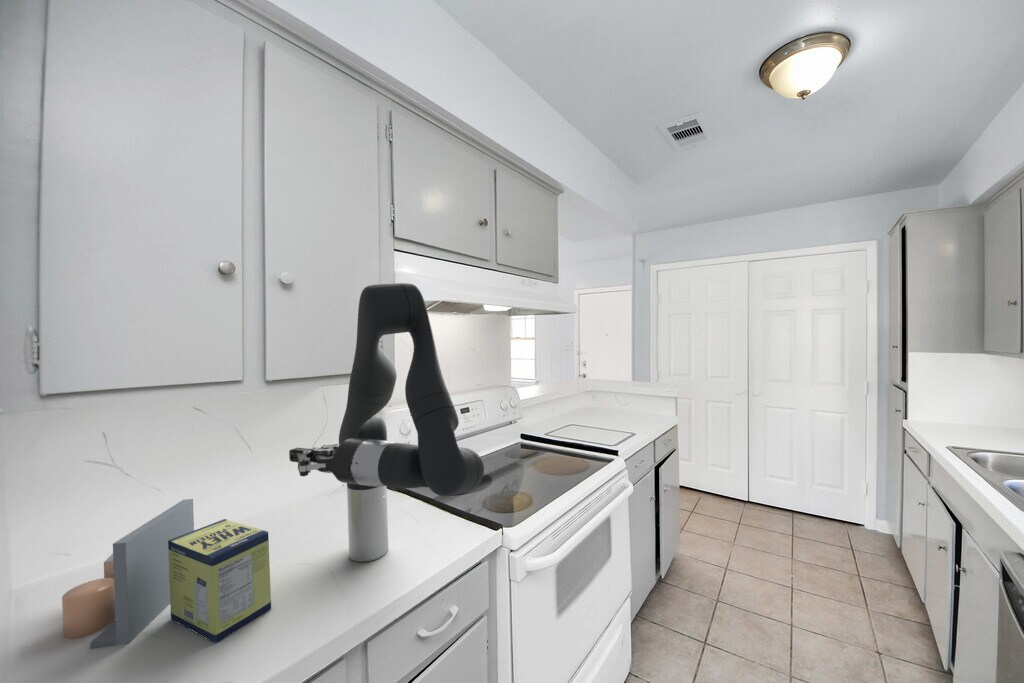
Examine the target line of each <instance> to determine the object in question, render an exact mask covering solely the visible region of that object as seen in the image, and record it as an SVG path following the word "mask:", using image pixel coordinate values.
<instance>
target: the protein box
mask: <svg viewBox="0 0 1024 683" xmlns="http://www.w3.org/2000/svg"><path fill="white" fill-rule="evenodd" d="M269 541H270V540H269V531H268V530H262V529H260V528H256V527H252V526H248V525H246V524H244V523H243V524H242V523H239V522H236V521H232V520H230V519H225V518H224V519H221V520H218V521H216V522H213V523H211V524H208V525H206V526H203V527H200V528H198V529H197V528H196V529H194V531H192V532H189V533H186V534H184V535H181V536H179V537H176V538H173V539H170V540H168V552H169V580H170V604H169V605H170V620H171V621H172V622H175V621H176V622H175V623H177V622H178V623H180V624H182V625H184V626H185V627H184V626H183V627H184V628H186V627H187V628H186V629H188V628H189V629H191V630H193V631H195V632H197V633H198V634H197V633H196V634H197V635H199V634H200V635H199V636H201V635H202V636H204V637H206V638H207V639H206V638H205V639H206V640H208V639H209V640H208V641H210V640H211V641H210V642H212V643H213V642H214V644H217V643H219V642H221V641H222V640H224V639H225V638H227V637H229V636H230V635H231V634H233V633H235V632H236V631H237V630H240V629H241V628H242V626H243V627H244V626H246V625H247V624H249V623H251V622H252V621H253V619H254V620H255V619H257V618H258V616H259V617H260V616H262V615H263V614H265V613H267V612H268V611H269V609H270V610H271V609H272V597H271V596H272V595H271V592H272V590H271V571H270V570H271V568H270V544H269ZM266 611H267V612H266ZM261 614H262V615H261ZM178 623H177V624H178ZM180 624H179V625H180ZM245 624H246V625H245ZM182 625H181V626H182ZM240 627H241V628H240ZM189 629H188V630H189ZM191 630H190V631H191ZM193 631H192V632H193ZM234 631H235V632H234ZM195 632H194V633H195ZM232 632H233V633H232ZM229 634H230V635H229ZM202 636H201V637H202ZM226 636H227V637H226ZM204 637H203V638H204Z"/></svg>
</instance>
